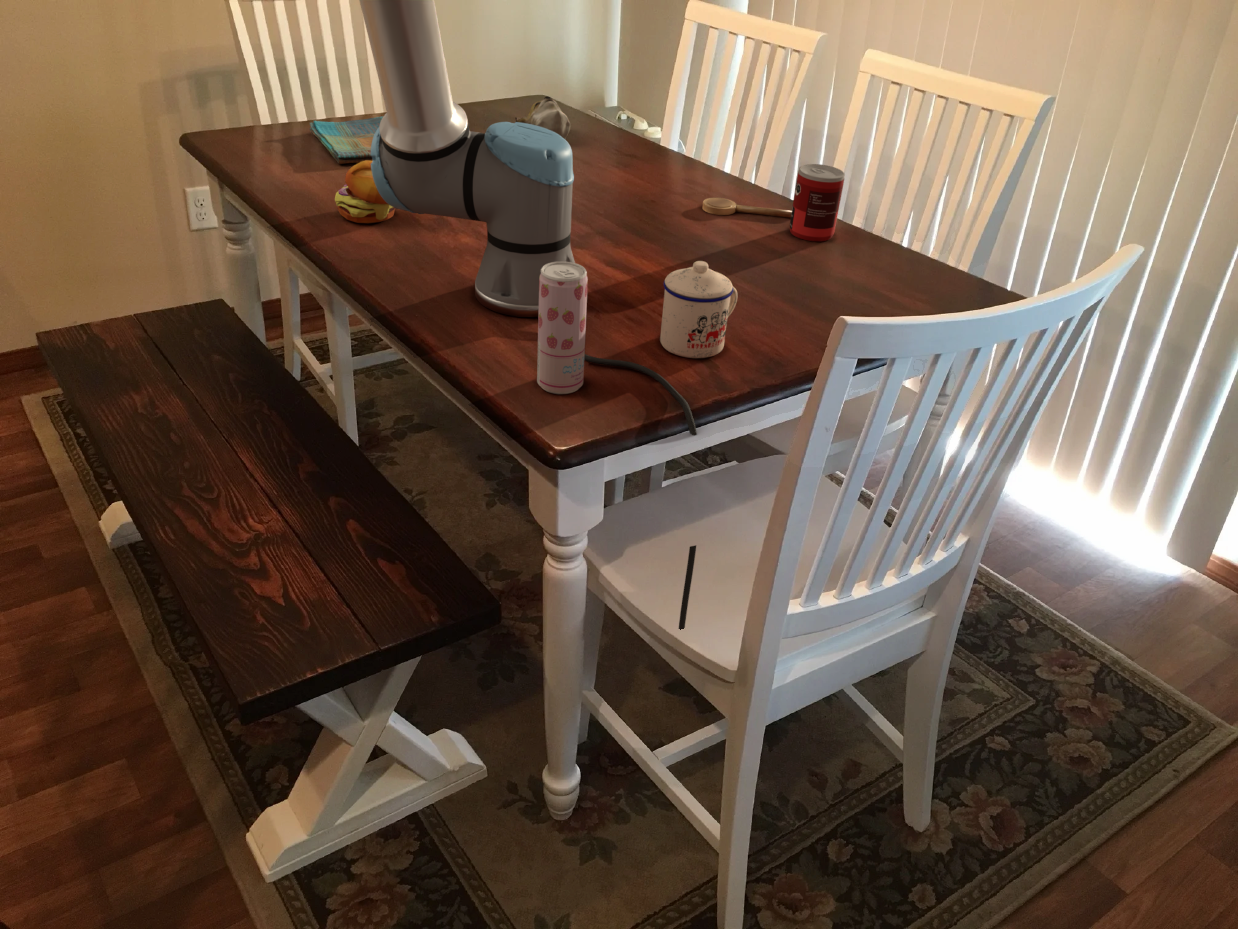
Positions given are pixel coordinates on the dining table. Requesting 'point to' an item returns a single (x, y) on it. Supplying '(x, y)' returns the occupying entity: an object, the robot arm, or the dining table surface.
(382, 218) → the cheeseburger
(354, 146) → the dish towel
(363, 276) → the dining table surface
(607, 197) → the dining table surface
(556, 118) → the ceramic sculpture
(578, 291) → the beverage can
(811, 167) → the canned food
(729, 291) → the teacup with lid
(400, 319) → the dining table surface
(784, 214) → the spoon
